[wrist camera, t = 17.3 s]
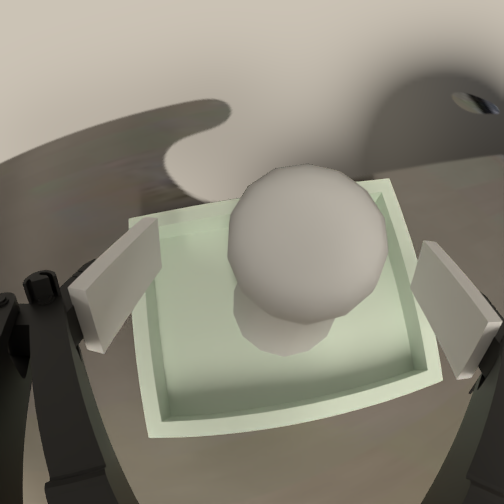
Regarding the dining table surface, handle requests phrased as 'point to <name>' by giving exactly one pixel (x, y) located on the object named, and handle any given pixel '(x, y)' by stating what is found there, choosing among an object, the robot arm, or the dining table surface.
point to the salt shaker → (302, 255)
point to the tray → (263, 363)
